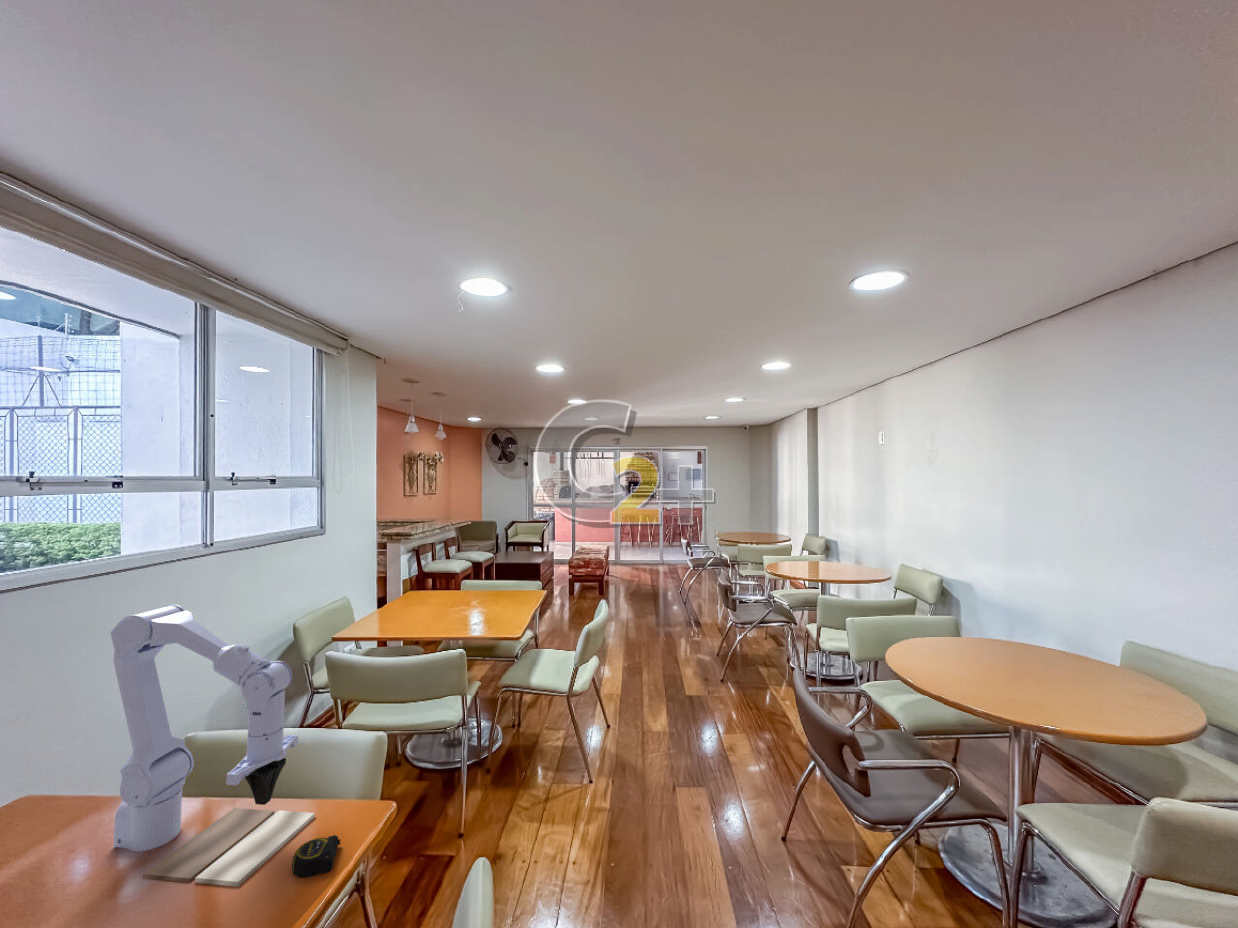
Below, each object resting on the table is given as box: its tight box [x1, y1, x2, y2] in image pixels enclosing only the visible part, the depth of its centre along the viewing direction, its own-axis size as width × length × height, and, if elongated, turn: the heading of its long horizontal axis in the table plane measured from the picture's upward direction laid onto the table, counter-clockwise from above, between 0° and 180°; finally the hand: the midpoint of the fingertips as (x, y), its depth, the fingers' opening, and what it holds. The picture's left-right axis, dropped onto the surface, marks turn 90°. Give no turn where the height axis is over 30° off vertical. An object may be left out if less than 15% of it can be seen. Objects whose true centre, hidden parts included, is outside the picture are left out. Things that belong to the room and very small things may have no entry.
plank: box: [194, 809, 316, 888], centre depth 93 cm, size 8×18×2 cm, turn 174°
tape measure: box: [291, 834, 342, 879], centre depth 89 cm, size 7×7×4 cm
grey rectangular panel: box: [142, 807, 275, 883], centre depth 94 cm, size 9×18×2 cm, turn 173°
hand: (262, 802), depth 96 cm, fingers closed
